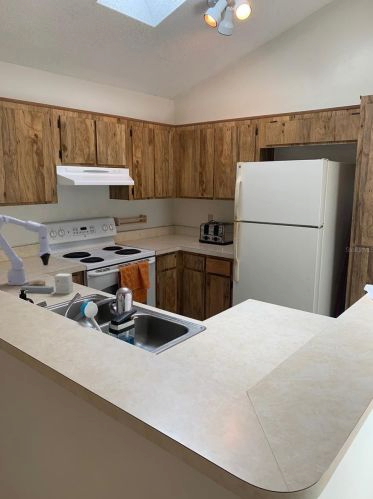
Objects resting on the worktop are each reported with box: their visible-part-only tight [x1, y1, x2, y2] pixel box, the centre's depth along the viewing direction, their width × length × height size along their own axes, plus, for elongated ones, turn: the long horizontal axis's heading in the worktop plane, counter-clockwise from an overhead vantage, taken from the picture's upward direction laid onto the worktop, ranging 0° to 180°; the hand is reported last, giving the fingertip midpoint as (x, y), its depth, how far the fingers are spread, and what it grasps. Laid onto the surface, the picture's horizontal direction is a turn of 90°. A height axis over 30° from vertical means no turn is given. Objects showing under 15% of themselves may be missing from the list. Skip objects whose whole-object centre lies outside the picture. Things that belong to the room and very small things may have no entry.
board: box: [20, 285, 55, 294], centre depth 217 cm, size 18×3×3 cm, turn 83°
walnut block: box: [27, 280, 46, 286], centre depth 222 cm, size 8×6×4 cm
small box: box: [54, 273, 74, 295], centre depth 215 cm, size 8×6×10 cm
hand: (45, 265), depth 239 cm, fingers closed
